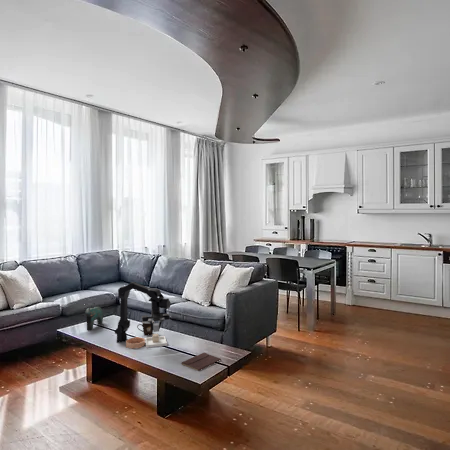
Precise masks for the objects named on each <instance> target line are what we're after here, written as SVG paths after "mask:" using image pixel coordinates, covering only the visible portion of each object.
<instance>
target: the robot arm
mask: <svg viewBox="0 0 450 450" xmlns="http://www.w3.org/2000/svg"><path fill="white" fill-rule="evenodd" d="M132 290H135V291H138V292H140V293H143V294H146V295H147V297H149V299H148V302H151V304H150V305H151V315H150V316H149V315H147V314H146V315H141V323H142V322H146V321H148V322H149V323H150V324H151V327H152V330H153V324H152V320H153V321H154V322H158V323H159V330H160V329H161V325H162V324H163V322H164V321H168V320H170V314H169V313H163V312H161V309H164V310H165V309H167V310H168V309H170V308H171V300H170V298H168V297H167V298H165V297H164V295H163V293H162V292H161V290H160V288H155V287H148V286H145V285H143V284H140V283H138V282H135V281H133V282H130V283H128V284H127V285H124V286H121V287H119V288H118V290H117V292H118V293H117V294H118V297H119V299H120V300H119V301H120V302H119V303H120V306H119V307H120V311H119V313H120V315H119V320H118V322H117V328H116V329H114V331H113V332H114V334H115V335H116V343H126V340H128V333H127V331H128V330H129V328H130V326H131V320H130V319H128V298H129V296H130V293H131V291H132Z"/></svg>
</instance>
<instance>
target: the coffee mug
mask: <svg viewBox="0 0 450 450" xmlns="http://www.w3.org/2000/svg"><path fill="white" fill-rule="evenodd" d="M141 323H142V324H141ZM141 323H138V324H137V327H136V328H137V329H138V331H141V332H143V335H144V336H151V335H152V334H154V332H153V330H152V327H151V324H150V323H149V322H148V321H146V322H142V321H141ZM154 323H155V321H153V319H152V324H154ZM139 326H141V327H142V329H141V328H139Z"/></svg>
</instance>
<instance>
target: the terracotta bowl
mask: <svg viewBox="0 0 450 450" xmlns="http://www.w3.org/2000/svg"><path fill="white" fill-rule="evenodd" d="M144 346H146V342H145V338H143V337H141V336H140V337H139V336H138V337H130V338H129V339H128V338H127V340H126V342H125V348H129V349H140V348H142V347H144Z"/></svg>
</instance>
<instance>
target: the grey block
mask: <svg viewBox="0 0 450 450" xmlns="http://www.w3.org/2000/svg"><path fill="white" fill-rule="evenodd" d="M155 332H156V333H157V332H160V329H159V322H157V323H155V322H154V324H153V333H155Z"/></svg>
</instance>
